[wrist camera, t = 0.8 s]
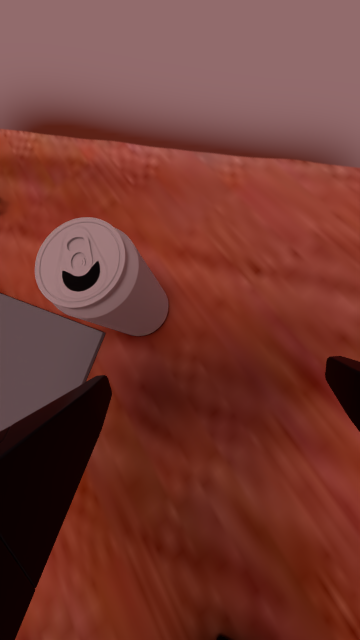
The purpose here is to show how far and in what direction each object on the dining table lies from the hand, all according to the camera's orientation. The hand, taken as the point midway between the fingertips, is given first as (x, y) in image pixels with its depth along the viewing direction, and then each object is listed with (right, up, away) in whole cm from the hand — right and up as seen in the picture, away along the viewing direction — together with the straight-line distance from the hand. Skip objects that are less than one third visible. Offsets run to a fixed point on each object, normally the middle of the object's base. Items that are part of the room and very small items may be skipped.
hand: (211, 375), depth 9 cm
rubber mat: (-20, -4, +16) cm, 26 cm away
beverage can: (-6, +4, +15) cm, 17 cm away
